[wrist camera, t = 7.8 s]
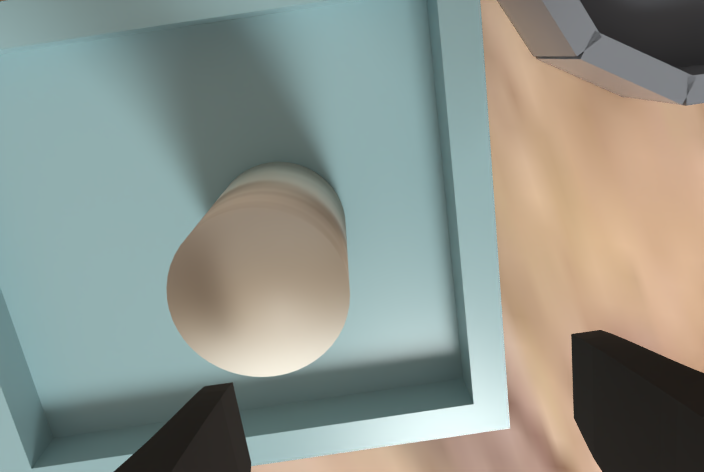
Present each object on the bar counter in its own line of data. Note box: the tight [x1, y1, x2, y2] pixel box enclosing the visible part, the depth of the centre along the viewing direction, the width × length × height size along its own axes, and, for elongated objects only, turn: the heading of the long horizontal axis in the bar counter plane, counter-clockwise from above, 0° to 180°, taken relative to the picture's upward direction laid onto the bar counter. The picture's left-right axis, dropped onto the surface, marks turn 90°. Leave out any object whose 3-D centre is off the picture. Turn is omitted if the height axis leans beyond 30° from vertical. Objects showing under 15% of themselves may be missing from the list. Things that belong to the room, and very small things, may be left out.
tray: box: [0, 0, 510, 472], centre depth 19 cm, size 16×18×2 cm
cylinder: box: [166, 162, 350, 377], centre depth 17 cm, size 4×4×6 cm
